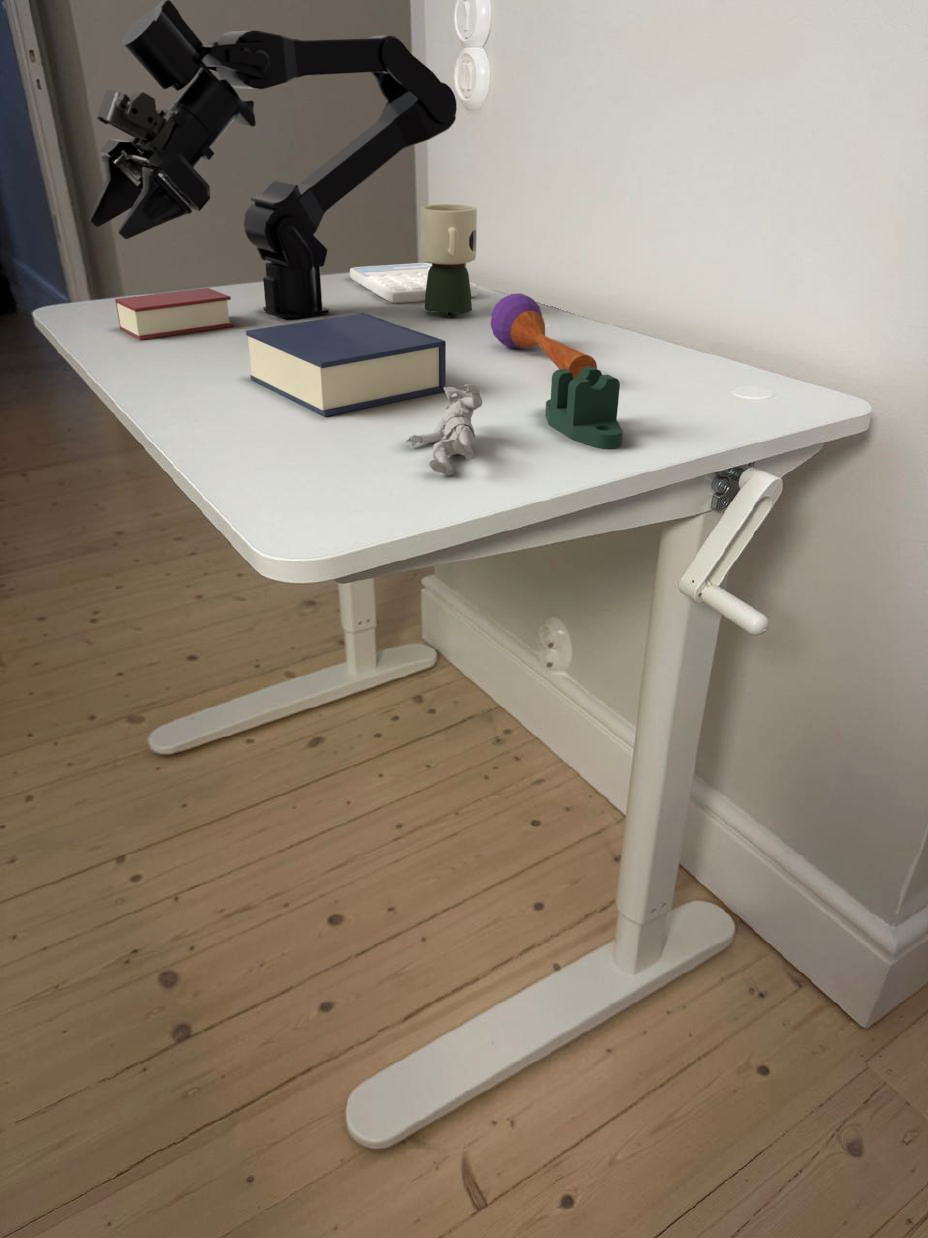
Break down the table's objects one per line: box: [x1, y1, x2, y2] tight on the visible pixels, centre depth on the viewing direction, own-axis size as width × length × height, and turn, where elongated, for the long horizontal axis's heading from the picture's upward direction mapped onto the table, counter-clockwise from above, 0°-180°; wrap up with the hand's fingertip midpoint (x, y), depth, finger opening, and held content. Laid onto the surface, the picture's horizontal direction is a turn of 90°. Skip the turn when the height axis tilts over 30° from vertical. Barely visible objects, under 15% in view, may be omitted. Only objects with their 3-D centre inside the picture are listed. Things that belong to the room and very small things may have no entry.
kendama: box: [490, 293, 598, 378], centre depth 104 cm, size 6×6×20 cm
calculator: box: [349, 262, 479, 304], centre depth 140 cm, size 13×20×2 cm, turn 23°
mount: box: [544, 366, 624, 450], centre depth 85 cm, size 11×4×5 cm, turn 24°
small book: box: [114, 287, 234, 341], centre depth 117 cm, size 12×6×4 cm, turn 128°
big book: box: [245, 312, 447, 417], centre depth 96 cm, size 14×15×5 cm
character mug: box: [419, 203, 478, 317], centre depth 122 cm, size 11×7×13 cm, turn 8°
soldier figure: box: [405, 383, 483, 476], centre depth 80 cm, size 8×5×12 cm
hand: (107, 229), depth 108 cm, fingers open, 9 cm apart
